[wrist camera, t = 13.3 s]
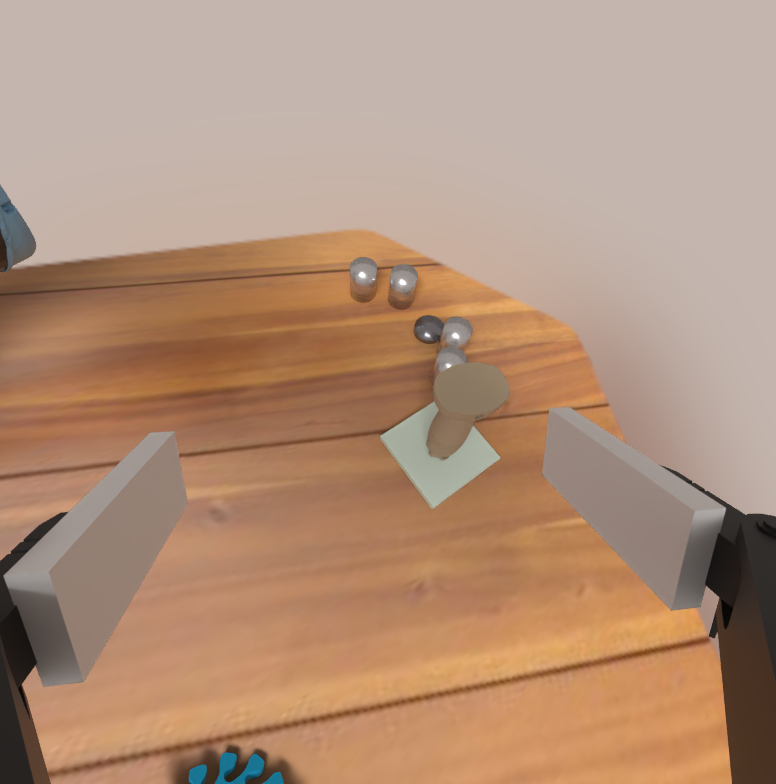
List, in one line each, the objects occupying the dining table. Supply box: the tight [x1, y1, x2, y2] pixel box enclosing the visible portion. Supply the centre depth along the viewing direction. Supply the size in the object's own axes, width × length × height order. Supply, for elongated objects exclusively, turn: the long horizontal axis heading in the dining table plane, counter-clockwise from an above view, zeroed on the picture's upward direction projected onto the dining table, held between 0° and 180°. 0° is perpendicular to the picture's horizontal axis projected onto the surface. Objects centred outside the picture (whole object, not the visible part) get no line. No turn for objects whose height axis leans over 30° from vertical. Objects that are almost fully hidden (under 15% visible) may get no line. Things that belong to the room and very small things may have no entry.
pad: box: [380, 402, 501, 509], centre depth 50 cm, size 10×10×1 cm
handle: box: [426, 362, 509, 461], centre depth 42 cm, size 5×6×15 cm
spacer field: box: [350, 257, 473, 385], centre depth 56 cm, size 21×8×5 cm, turn 36°
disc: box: [414, 315, 444, 344], centre depth 58 cm, size 4×4×1 cm
